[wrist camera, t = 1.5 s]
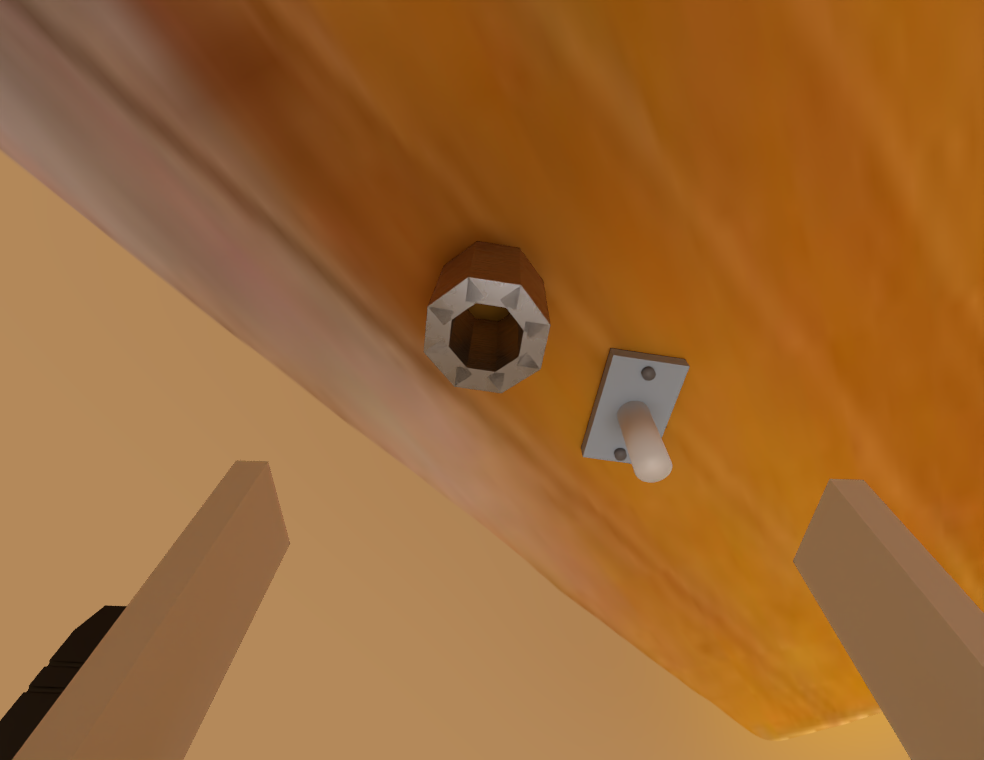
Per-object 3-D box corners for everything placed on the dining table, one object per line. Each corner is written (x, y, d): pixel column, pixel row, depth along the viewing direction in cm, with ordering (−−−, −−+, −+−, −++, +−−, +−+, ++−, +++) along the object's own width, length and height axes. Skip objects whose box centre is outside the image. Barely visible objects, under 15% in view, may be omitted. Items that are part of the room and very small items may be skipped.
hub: (437, 330, 39) (421, 381, 33) (446, 236, 36) (430, 271, 29) (530, 344, 40) (534, 398, 33) (549, 252, 36) (558, 290, 29)
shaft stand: (581, 448, 45) (593, 513, 38) (610, 348, 40) (631, 402, 33) (647, 457, 45) (671, 524, 38) (684, 359, 40) (721, 415, 33)
